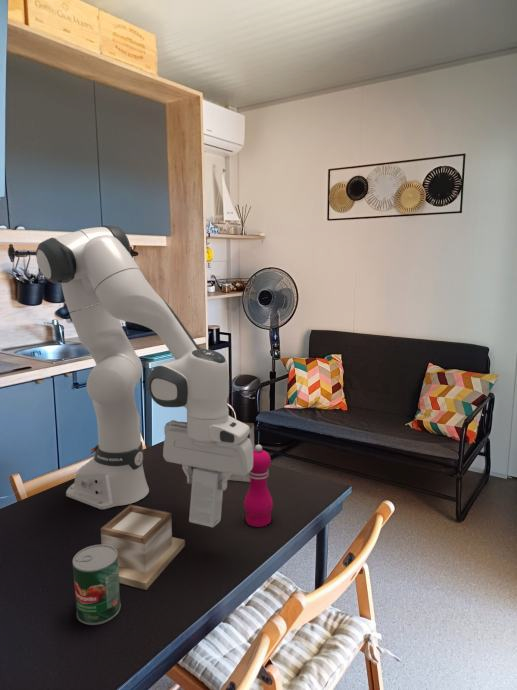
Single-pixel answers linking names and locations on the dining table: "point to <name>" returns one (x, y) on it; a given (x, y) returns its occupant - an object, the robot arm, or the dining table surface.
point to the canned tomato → (96, 584)
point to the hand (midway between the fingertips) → (206, 485)
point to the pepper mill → (259, 490)
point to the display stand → (141, 544)
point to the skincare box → (206, 497)
